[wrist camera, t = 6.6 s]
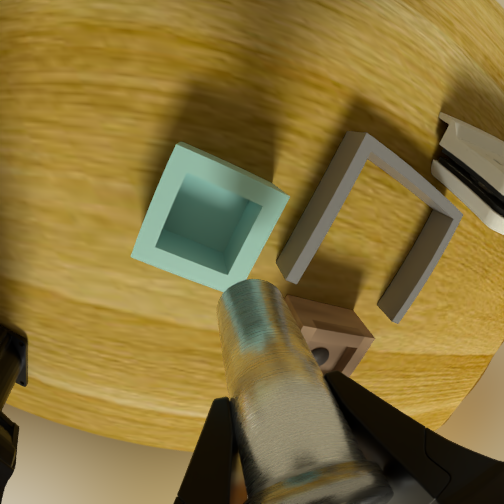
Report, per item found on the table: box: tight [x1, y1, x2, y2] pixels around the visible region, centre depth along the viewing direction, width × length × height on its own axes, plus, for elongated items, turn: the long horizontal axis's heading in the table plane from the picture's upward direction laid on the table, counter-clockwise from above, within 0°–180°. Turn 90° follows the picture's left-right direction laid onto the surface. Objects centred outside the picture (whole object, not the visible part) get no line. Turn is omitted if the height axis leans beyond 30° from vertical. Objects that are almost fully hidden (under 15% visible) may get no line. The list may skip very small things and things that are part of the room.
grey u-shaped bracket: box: [276, 131, 463, 324], centre depth 20 cm, size 10×11×2 cm
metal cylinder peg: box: [217, 279, 394, 504], centre depth 8 cm, size 3×3×9 cm
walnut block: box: [285, 295, 375, 377], centre depth 22 cm, size 6×6×4 cm
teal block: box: [131, 142, 290, 292], centre depth 17 cm, size 6×6×4 cm
